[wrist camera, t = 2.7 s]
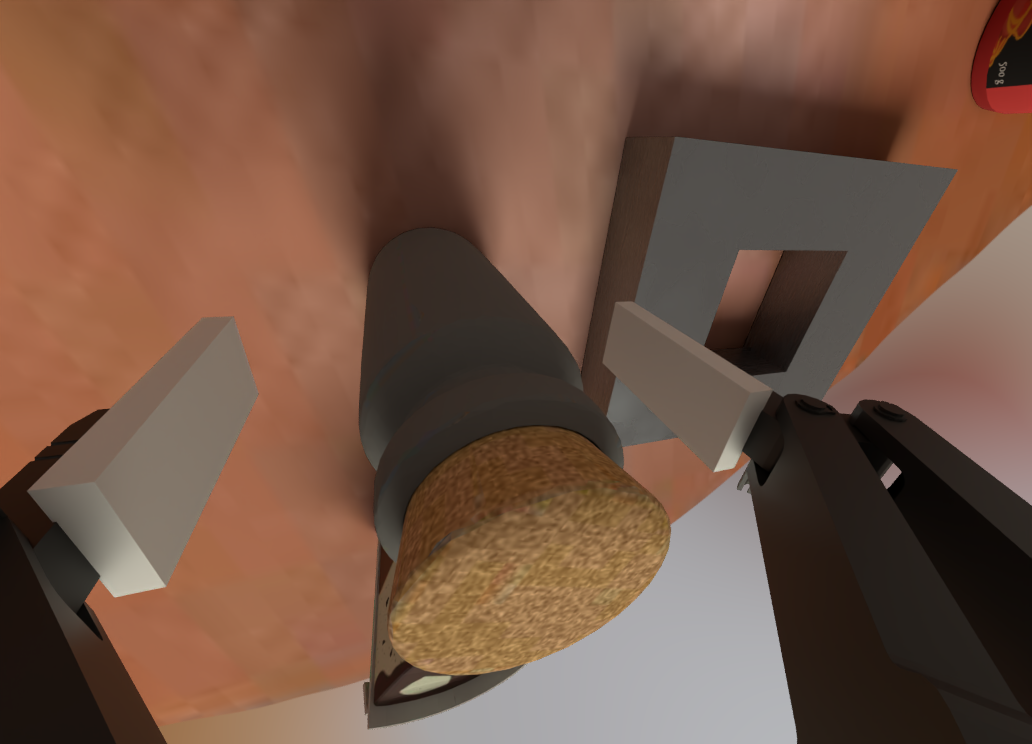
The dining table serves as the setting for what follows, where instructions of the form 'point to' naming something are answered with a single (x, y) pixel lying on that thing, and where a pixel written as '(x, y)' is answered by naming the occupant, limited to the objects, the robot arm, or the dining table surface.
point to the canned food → (1005, 60)
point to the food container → (411, 671)
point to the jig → (753, 226)
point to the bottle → (490, 468)
